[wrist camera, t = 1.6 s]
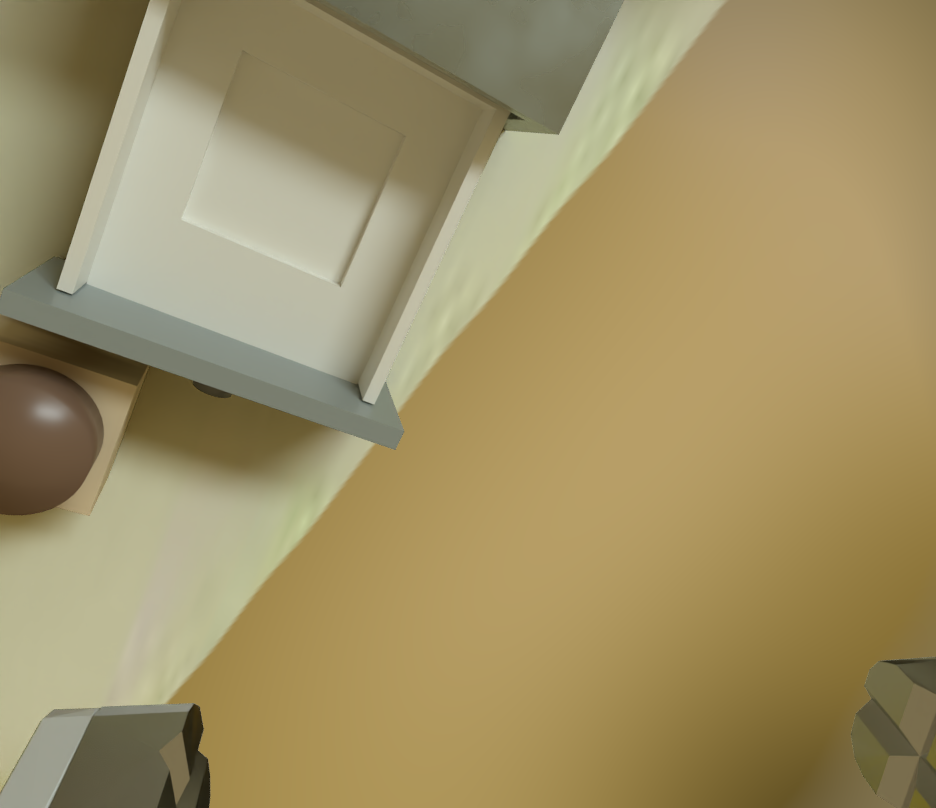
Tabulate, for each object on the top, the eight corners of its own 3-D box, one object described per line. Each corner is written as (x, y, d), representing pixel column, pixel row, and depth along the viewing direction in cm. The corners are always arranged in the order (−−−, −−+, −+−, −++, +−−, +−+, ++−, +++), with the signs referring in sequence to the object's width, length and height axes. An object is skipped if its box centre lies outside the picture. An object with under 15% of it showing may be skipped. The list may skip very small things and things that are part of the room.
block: (-44, 433, 34) (-82, 471, 31) (-4, 304, 33) (-40, 327, 29) (108, 476, 37) (89, 515, 33) (152, 358, 35) (136, 386, 32)
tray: (40, 299, 33) (-13, 341, 27) (162, -81, 29) (130, -131, 23) (369, 417, 39) (384, 472, 33) (509, 116, 35) (555, 117, 29)
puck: (-66, 464, 31) (-92, 491, 29) (-30, 342, 29) (-54, 360, 27) (81, 503, 33) (66, 531, 31) (121, 392, 32) (110, 412, 30)
